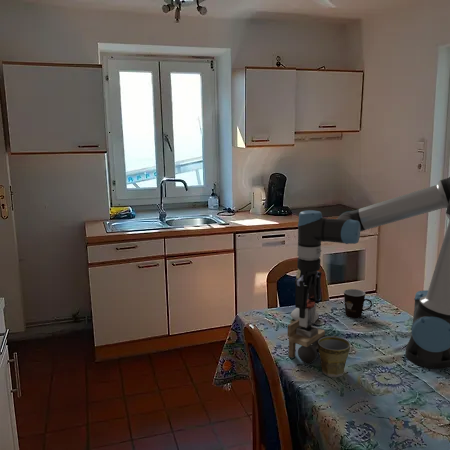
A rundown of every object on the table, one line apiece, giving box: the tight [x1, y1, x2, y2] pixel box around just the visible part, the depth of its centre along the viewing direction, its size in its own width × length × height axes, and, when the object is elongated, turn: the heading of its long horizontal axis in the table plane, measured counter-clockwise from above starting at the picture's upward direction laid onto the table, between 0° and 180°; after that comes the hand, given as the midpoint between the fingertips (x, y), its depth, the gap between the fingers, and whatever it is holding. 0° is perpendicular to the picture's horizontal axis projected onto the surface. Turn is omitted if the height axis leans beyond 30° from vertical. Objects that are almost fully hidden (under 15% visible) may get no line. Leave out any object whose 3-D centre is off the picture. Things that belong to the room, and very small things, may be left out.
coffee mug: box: [343, 288, 373, 319], centre depth 189 cm, size 12×9×10 cm
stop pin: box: [303, 298, 315, 331], centre depth 156 cm, size 5×5×11 cm
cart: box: [287, 319, 327, 364], centre depth 157 cm, size 10×12×12 cm
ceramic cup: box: [318, 335, 351, 378], centre depth 147 cm, size 13×10×10 cm
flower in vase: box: [290, 268, 320, 322], centre depth 185 cm, size 13×11×25 cm
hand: (307, 323), depth 156 cm, fingers closed on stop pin, 5 cm apart
